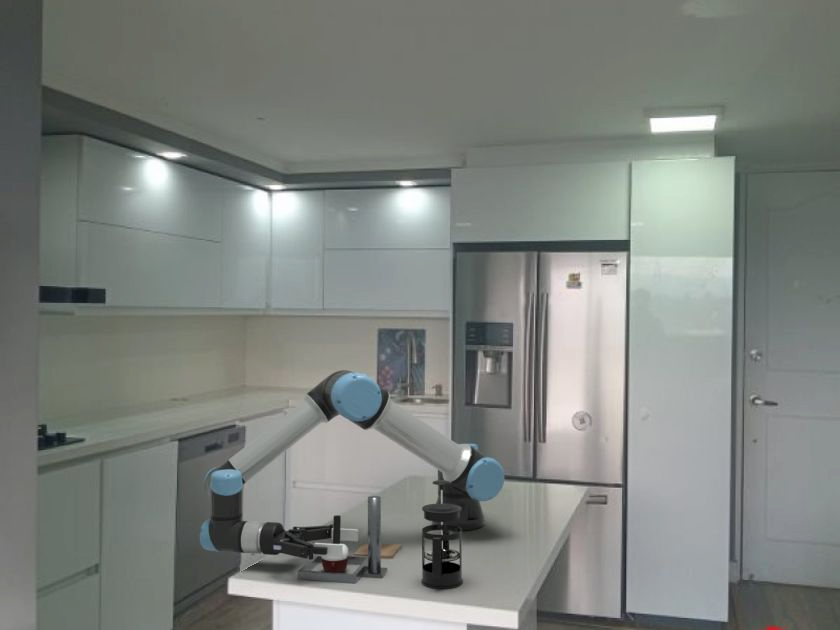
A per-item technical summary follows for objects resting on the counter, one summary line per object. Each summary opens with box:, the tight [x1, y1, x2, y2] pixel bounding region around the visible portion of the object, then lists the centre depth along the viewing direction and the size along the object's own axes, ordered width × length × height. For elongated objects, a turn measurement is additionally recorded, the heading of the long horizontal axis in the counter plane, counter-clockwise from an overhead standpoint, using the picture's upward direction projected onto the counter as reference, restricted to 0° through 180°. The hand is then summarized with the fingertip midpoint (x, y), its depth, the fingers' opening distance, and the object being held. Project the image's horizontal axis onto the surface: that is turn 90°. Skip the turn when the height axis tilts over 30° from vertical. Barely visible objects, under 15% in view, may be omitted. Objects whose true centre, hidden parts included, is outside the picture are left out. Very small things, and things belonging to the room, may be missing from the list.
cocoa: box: [321, 515, 349, 573], centre depth 187 cm, size 10×6×12 cm, turn 157°
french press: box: [420, 479, 464, 590], centre depth 179 cm, size 12×9×23 cm
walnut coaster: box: [353, 542, 403, 559], centre depth 203 cm, size 10×10×1 cm
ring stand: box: [296, 495, 388, 584], centre depth 187 cm, size 19×14×18 cm
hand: (350, 542), depth 187 cm, fingers open, 12 cm apart
